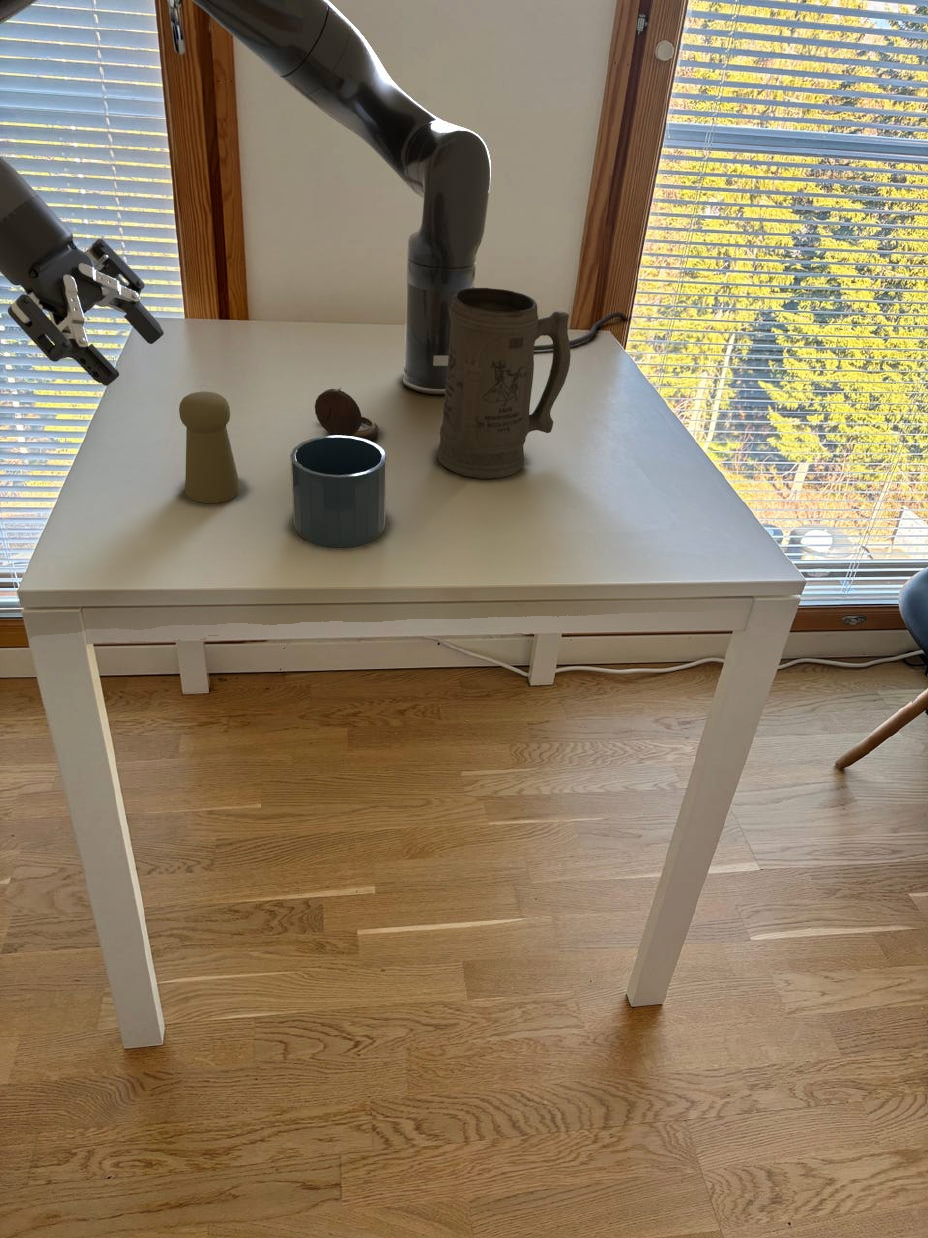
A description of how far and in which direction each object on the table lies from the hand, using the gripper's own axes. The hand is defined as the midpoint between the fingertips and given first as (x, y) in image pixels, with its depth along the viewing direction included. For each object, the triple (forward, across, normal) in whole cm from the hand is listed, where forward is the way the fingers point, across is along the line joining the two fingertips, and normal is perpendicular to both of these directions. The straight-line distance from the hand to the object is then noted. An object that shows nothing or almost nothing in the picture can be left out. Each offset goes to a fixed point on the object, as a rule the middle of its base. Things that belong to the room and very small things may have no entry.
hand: (136, 359), depth 91 cm
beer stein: (+36, +20, -14) cm, 43 cm away
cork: (+15, 0, +5) cm, 16 cm away
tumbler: (+25, -2, -8) cm, 26 cm away
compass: (+23, +19, +1) cm, 30 cm away
